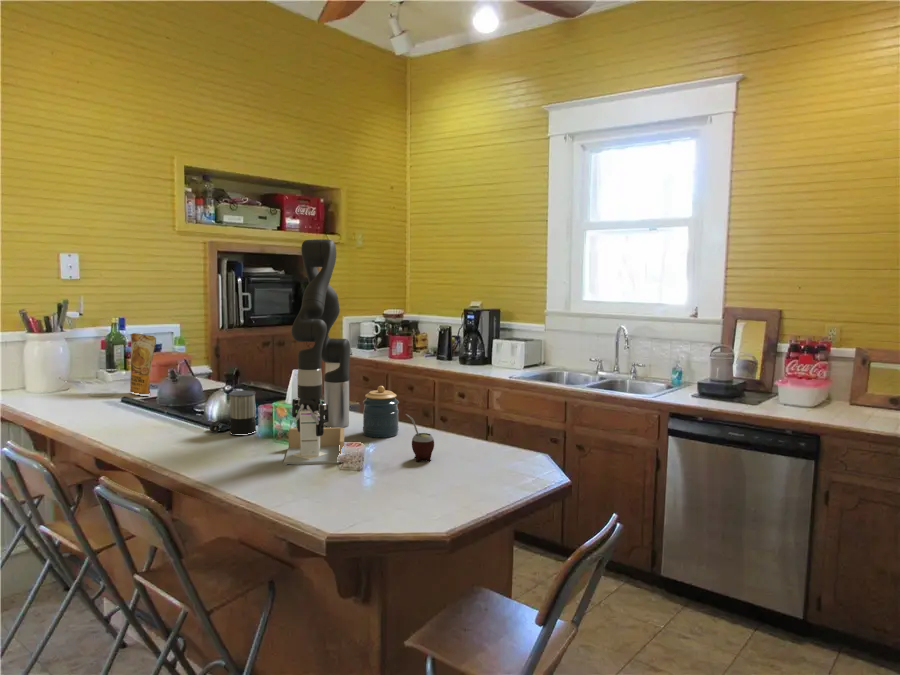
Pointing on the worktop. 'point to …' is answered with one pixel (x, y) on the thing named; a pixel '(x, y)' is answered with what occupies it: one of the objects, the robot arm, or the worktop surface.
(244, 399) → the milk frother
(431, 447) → the mate gourd
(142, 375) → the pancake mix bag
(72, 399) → the worktop surface
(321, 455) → the corner arena
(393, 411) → the canister
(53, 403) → the worktop surface
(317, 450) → the syrup box
